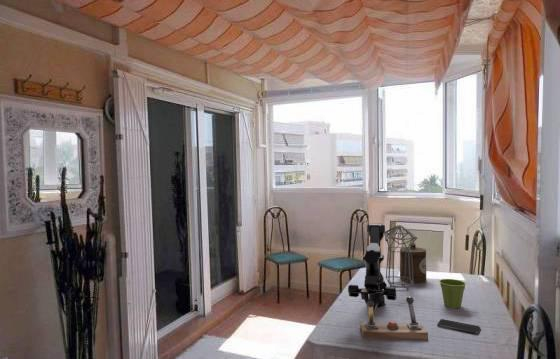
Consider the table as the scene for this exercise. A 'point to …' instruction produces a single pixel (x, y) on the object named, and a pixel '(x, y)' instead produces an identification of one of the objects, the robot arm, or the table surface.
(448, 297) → the plant pot
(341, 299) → the table surface
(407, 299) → the graphite lever
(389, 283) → the geometric lantern
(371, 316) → the dark gray metal lever
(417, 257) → the wooden container
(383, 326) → the switch panel
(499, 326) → the table surface
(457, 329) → the phone
